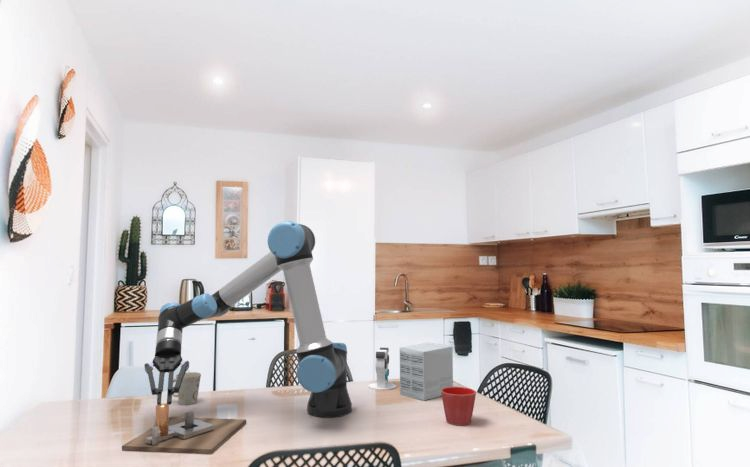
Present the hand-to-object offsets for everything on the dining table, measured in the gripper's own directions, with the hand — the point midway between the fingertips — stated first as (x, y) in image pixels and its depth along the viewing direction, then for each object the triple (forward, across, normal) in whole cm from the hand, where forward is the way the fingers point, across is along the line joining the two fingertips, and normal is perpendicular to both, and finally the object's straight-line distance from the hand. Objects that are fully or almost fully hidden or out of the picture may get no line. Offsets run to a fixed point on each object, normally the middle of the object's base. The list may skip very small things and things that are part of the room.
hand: (163, 414), depth 137 cm
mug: (-23, -4, -33) cm, 41 cm away
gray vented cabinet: (-10, -92, -20) cm, 95 cm away
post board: (+4, -7, -6) cm, 10 cm away
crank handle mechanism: (+4, -4, -4) cm, 7 cm away
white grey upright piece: (-21, -80, -32) cm, 88 cm away
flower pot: (+15, -87, +4) cm, 89 cm away
